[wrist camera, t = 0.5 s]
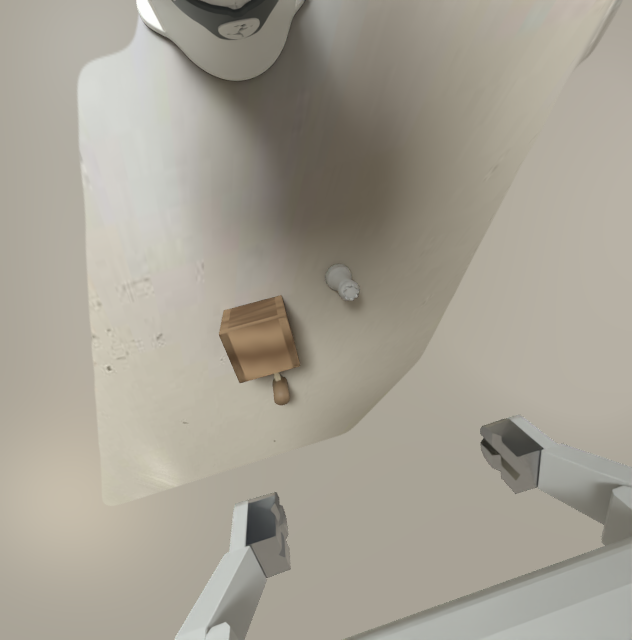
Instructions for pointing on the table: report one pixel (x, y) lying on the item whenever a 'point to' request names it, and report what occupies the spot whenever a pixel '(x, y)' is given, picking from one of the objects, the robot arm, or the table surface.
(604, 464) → the robot arm
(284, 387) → the block with stick handle
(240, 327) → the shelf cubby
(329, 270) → the rook chess piece
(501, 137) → the table surface
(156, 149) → the table surface
